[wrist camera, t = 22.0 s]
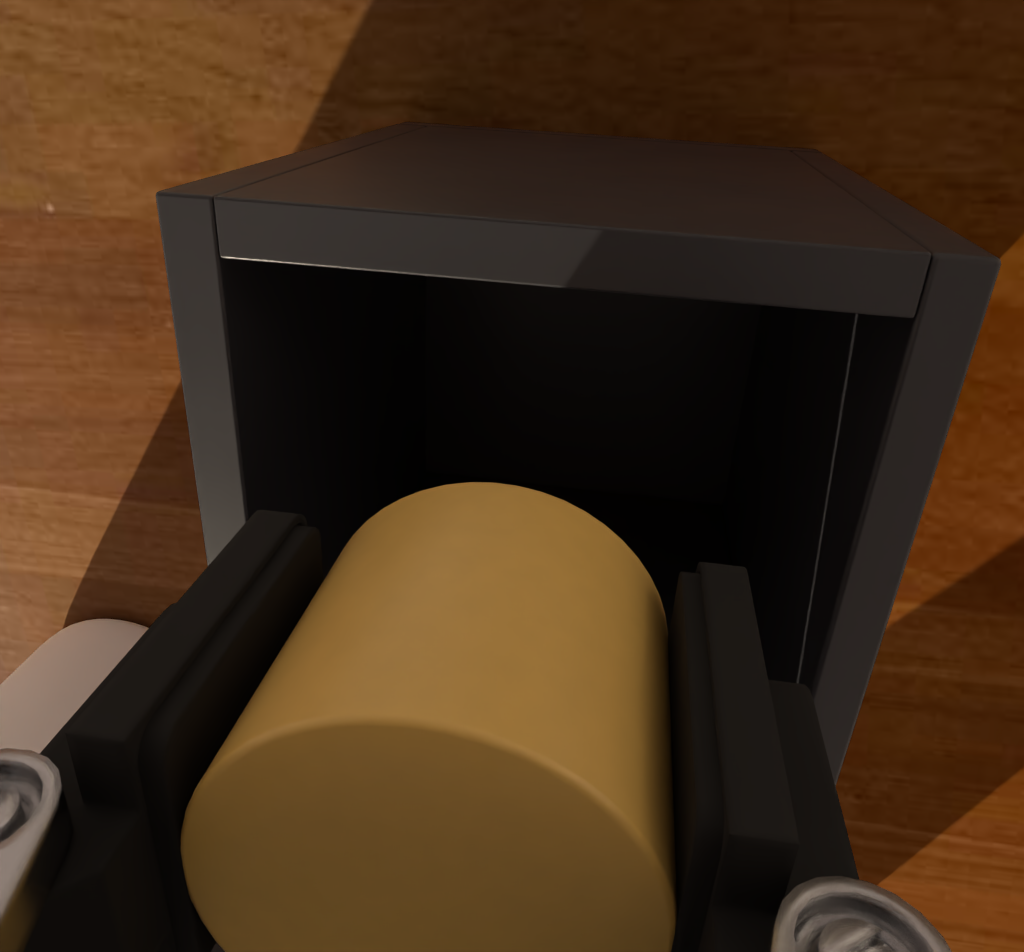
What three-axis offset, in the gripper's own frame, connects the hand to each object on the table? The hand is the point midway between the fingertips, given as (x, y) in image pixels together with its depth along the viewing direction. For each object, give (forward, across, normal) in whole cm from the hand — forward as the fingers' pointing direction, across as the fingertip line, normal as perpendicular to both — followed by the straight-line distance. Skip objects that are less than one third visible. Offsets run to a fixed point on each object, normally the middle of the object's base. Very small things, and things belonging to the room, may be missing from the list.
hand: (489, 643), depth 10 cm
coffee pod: (0, 0, 0) cm, 0 cm away
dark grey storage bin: (+18, 0, +1) cm, 18 cm away
